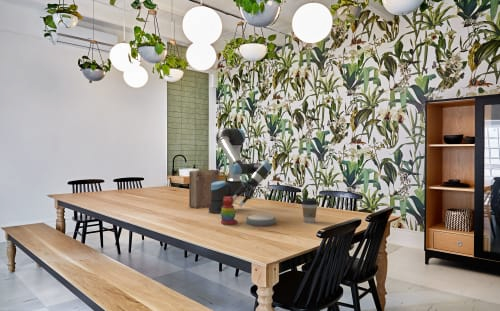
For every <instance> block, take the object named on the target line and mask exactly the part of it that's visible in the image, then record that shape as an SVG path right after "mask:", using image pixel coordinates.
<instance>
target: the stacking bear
mask: <svg viewBox="0 0 500 311" xmlns="http://www.w3.org/2000/svg"><path fill="white" fill-rule="evenodd" d="M223 198H224V200H223V203H224V205H223V207H222V211H221V213H220V217H221V222H220V224H221V225H227V226H228V225H229V226H231V225H235V224H238V222H239V221H238V220H237V219H235V217H236V209H235V207H234V205H233V204H234V203H233V197H225V196H224V197H223Z"/></svg>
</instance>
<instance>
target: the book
mask: <svg viewBox="0 0 500 311" xmlns="http://www.w3.org/2000/svg"><path fill="white" fill-rule="evenodd" d="M188 174H189V175H188V176H189V178H188V179H189V181H188V182H189V185H188V188H189V191H188V192H189V193H188V195H189V197H188V198H189V199H188V203H189V204H188V207H189V208H196V209H202V208H201V207H203V208H207V206H208V207H210V203H211V184H212V183H213V182H217V181H220V170H218V169H205V170H204V169H203V170H190V171H189V172H188Z"/></svg>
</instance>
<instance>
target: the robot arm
mask: <svg viewBox="0 0 500 311" xmlns="http://www.w3.org/2000/svg"><path fill="white" fill-rule="evenodd" d="M215 141H216V144H217V145H218V146H219V147H221V148H220V149H221V150H222V151H223V153H224V154H225V156H226V158H227V160H228V161H229V162H228V163H229V164H228V178H227V180H226V181H225V180H219V181H217V182H213V183H212V184H211V203H210V206H208V213H210V214H221V211H222V207H223V205H224V203H223V200H224V198H223V197H224V196H225V197H233V204H234V203H235V201H237V199H238V198H240V197H241V196H242V195H243V194H244V193H245V195H244V197H243V198H242V199H241V200H240V201H239V202H238V203H237V206H239V207H240V208H242V207H243V206H244V205H245V204H246V202H247V201H248V200H251V199H252V197H253V195H254V192H255V191H256V189H257V187H258V186H259V184H260V183H262V181H263V180H264V179H265V177H266V176H267V175H268V174H269V173H270V171H271V170H272V167H273V166H272V165H271V163H269V162H268V161H266V160H263V161H262V162H261V163H257V162H249V163H244V162H242V160H241V148H242V147H243V144H244V143H245V141H246V134H245V131H244V130H243V129H242V128H231V127H230V128H229V127H225V128H221V129H220V130H218V132H216V135H215ZM241 175H251V176H250V178H248V180H246V183H244V182H243V181H242V179H241Z"/></svg>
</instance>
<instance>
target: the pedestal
mask: <svg viewBox="0 0 500 311" xmlns="http://www.w3.org/2000/svg"><path fill="white" fill-rule="evenodd" d="M246 224H247V225H249V226H251V227H270V226H272V227H273V226H274V225H276V217H275V216H273V215H268V214H251V215H248V216H246Z"/></svg>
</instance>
